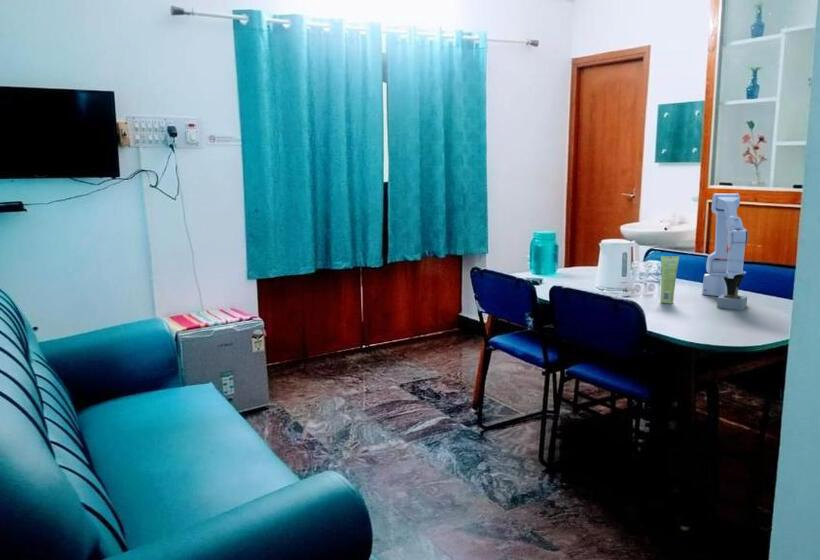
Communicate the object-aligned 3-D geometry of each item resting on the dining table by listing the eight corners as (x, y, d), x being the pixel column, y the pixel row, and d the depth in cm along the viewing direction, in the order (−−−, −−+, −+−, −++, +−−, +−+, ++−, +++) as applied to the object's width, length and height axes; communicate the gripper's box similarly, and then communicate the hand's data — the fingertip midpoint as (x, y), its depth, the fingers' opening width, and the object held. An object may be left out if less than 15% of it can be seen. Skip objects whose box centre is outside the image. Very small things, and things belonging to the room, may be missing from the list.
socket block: (716, 307, 253) (717, 297, 253) (722, 303, 260) (722, 293, 260) (741, 310, 248) (742, 300, 247) (746, 306, 255) (747, 296, 254)
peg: (724, 306, 254) (725, 287, 252) (727, 304, 257) (728, 285, 255) (735, 308, 251) (736, 288, 250) (738, 306, 254) (739, 286, 253)
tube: (664, 300, 266) (667, 254, 263) (676, 302, 263) (679, 256, 259) (657, 302, 263) (660, 256, 259) (669, 304, 259) (672, 257, 255)
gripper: (743, 263, 243) (740, 297, 245) (750, 258, 254) (747, 291, 256) (723, 261, 247) (720, 295, 249) (731, 257, 258) (728, 289, 261)
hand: (732, 293), depth 253 cm, fingers open, 6 cm apart
